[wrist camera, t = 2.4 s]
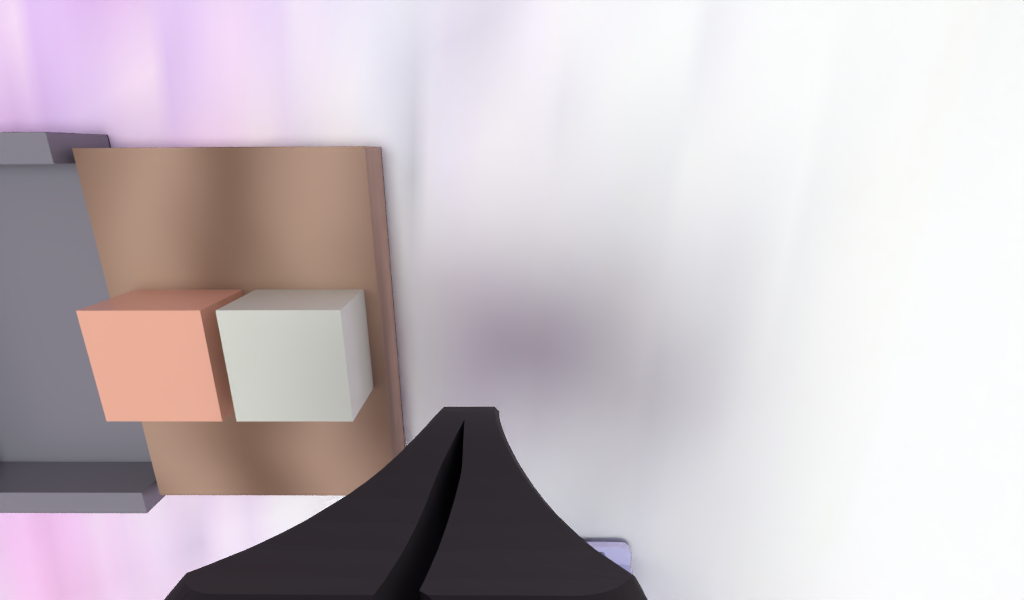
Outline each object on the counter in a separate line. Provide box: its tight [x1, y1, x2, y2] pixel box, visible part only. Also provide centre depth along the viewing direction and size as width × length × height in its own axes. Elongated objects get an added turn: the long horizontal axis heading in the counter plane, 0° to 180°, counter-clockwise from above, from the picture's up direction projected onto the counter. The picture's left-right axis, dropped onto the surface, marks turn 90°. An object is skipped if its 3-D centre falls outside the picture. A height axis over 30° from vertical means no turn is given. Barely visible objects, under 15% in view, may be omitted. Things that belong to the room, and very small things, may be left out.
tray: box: [0, 132, 165, 513], centre depth 19 cm, size 9×15×2 cm, turn 0°
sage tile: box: [215, 289, 374, 422], centre depth 17 cm, size 4×4×2 cm
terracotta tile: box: [76, 290, 243, 421], centre depth 17 cm, size 4×4×2 cm
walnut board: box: [72, 146, 405, 495], centre depth 19 cm, size 10×14×2 cm
